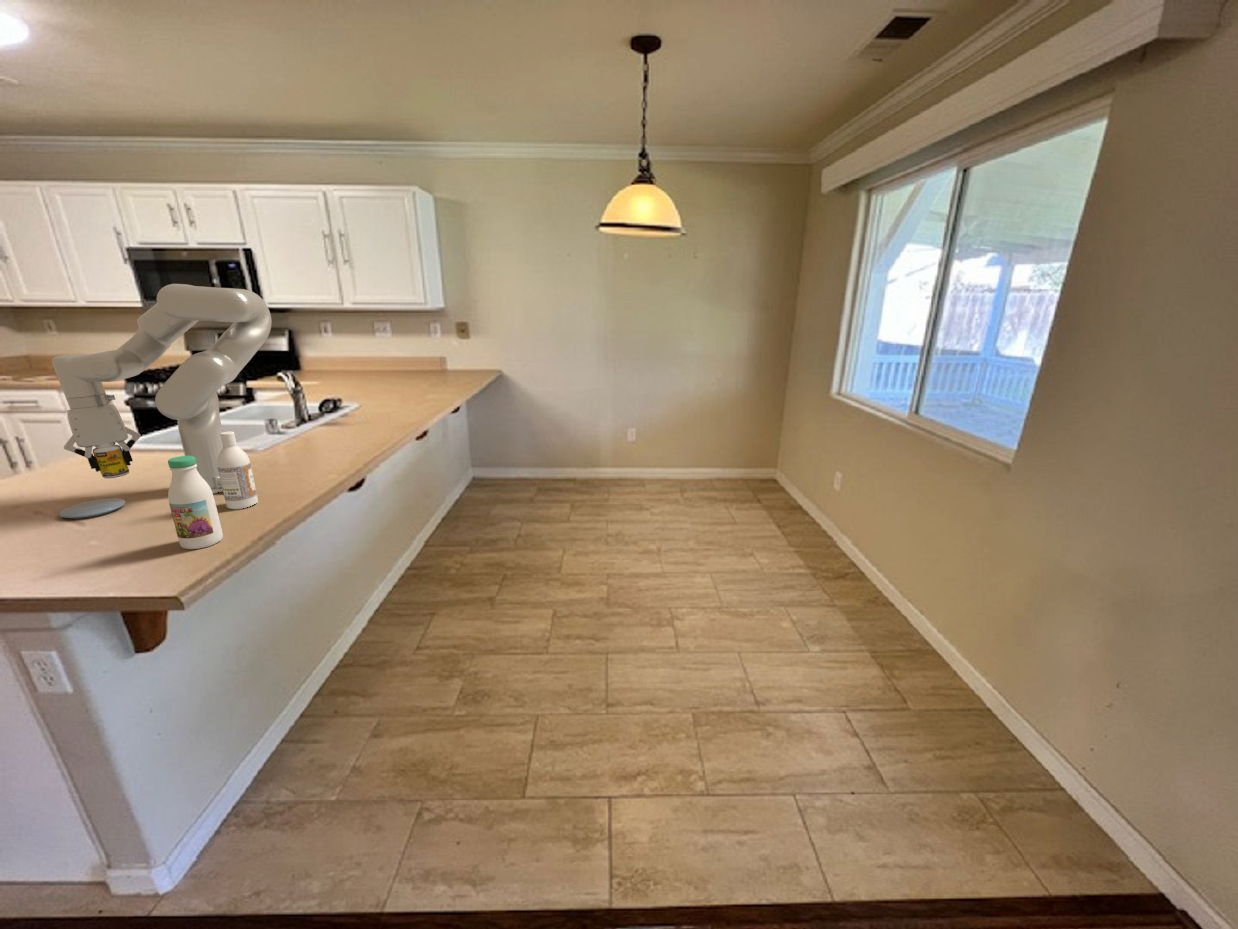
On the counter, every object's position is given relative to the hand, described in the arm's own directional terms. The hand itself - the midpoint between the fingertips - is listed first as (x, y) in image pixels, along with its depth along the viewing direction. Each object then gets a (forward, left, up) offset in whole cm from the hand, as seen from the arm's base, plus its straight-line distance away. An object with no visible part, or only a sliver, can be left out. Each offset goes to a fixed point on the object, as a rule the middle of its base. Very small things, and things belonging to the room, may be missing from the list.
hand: (113, 466), depth 140 cm
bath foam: (-38, -4, -9) cm, 39 cm away
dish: (-6, +10, -8) cm, 14 cm away
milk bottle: (-50, +16, -9) cm, 53 cm away
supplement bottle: (0, 0, -3) cm, 3 cm away
